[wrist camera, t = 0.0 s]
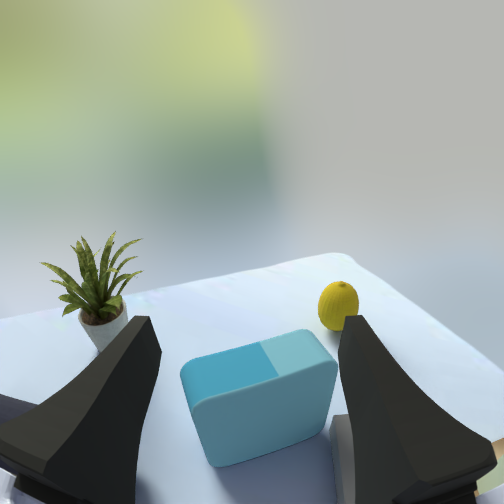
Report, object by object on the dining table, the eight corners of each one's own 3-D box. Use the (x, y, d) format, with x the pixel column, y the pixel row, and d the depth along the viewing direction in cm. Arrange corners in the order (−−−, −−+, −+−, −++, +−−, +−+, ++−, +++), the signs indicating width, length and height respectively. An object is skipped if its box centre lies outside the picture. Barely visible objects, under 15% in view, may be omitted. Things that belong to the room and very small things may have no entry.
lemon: (320, 314, 46) (324, 268, 42) (356, 320, 44) (364, 274, 40) (311, 338, 41) (316, 290, 38) (351, 345, 40) (360, 297, 36)
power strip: (433, 580, 10) (452, 576, 8) (343, 604, 10) (353, 606, 9) (399, 420, 28) (409, 402, 26) (329, 430, 28) (334, 412, 27)
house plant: (189, 334, 43) (169, 226, 36) (124, 398, 32) (74, 284, 25) (123, 306, 49) (99, 214, 42) (62, 353, 39) (20, 254, 31)
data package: (304, 403, 32) (314, 323, 26) (323, 432, 28) (342, 356, 23) (200, 436, 28) (175, 361, 23) (211, 471, 25) (187, 405, 19)
